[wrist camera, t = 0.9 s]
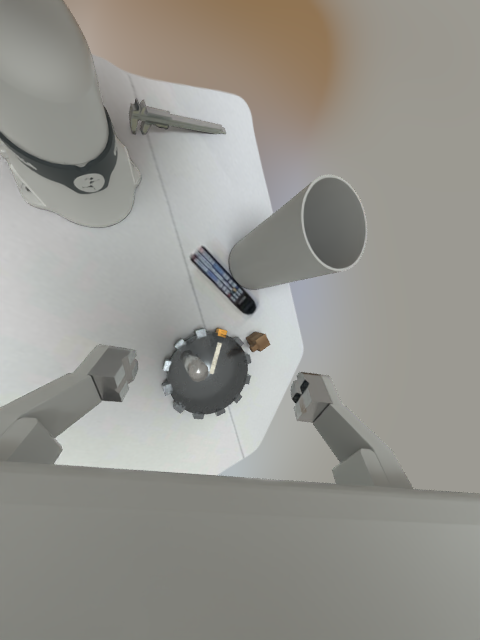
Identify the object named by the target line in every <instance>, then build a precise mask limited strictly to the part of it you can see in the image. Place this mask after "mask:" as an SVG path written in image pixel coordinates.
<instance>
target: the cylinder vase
mask: <svg viewBox="0 0 480 640" xmlns="http://www.w3.org/2000/svg"><path fill="white" fill-rule="evenodd" d="M366 239H367V221H366V215H365V211H364V208H363V205H362V202H361V200H360V198H359V197H358V194H357V193H356V191H355V190H354V189H353V187H352V186H351V185H350V184H349V183H348V182H347V181H345V180H344V179H342V178H340V177H338V176H335V175H323V176H320V177H319V178H317V179H316V180H314V181H313V182H312V183H311V184H309V185H308V186H307V187H306V188H304V189H303V190H302V191H301V192H299V193H298V194H297V195H296V196H294V197H293V198H292V199H291V200H290V201H288V202H287V203H286V204H285V205H283V206H282V207H281V208H280V209H279V210H278V211H276V212H275V213H274V214H272V215H271V216H270V217H269V218H267V219H266V220H265V221H264V222H263V223H261V224H260V225H259V226H258V227H256V228H255V229H254V230H253V231H251V232H250V233H249V234H248V235H247V236H245V237H244V238H243V239H242V240H240V241H239V242H238V243H237V244H236V245H235V246H234V247H233V249H232V251H231V254H230V258H229V266H230V271H231V273H232V276H233V277H234V279H235V280H236V281H237V283H239V284H240V285H241V286H243V287H244V288H247V289H251V290H257V289H261V288H266V287H271V286H275V285H280V284H285V283H289V282H294V281H298V280H303V279H308V278H313V277H317V276H322V275H327V274H331V273H336V272H341V271H345V270H348V269H350V268H351V267H353V266H354V265H355V264H356V263H357V262H358V261H359V259H360V258H361V256H362V254H363V251H364V248H365V244H366Z"/></svg>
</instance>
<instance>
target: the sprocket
mask: <svg viewBox="0 0 480 640" xmlns="http://www.w3.org/2000/svg"><path fill="white" fill-rule="evenodd" d="M194 331H195V335H194V336H192V337H190V338H189V339H187V340H186V341H183V340H182V339H179V340H178V341H177V342H176V343H175V344H174V346H175V347H176V348H177V350H176V351H175V352H174V354H173V356H172V358H171V360H170V359H165V362H164V365H163V371H168V372H167V381H168V382H165V383H162V385H163V389H164V393H165V396H166V395H169V394H171V395H172V397H173V399H174V400H175V402H174V403H173V408H174V409H175V410H177V411H178V412H179V413H180V414H181V413H182V412H183V410H184V409H185V410H186V411H189V412H191V413H193V414H192V415H193V417H194V419H203V417H204V414H211V413H215V414H216V415H217V416H219V415H221V414H223V413H225V409H224V408H226V407H227V406H228V405H230V404H231V403H232V402H233V401H235V402H236V403H237V402H238V401H239V400H240V399H241V398H242V396H241V395H240V392H241V391H242V389H243V387H244V385H245V384H249V381H250V377H251V376H250V375H249V374H247V371H248V365H247V364H249V363H251V359H250V355H249V354H245V353H244V351H243V349H242V348H241V346H242V345H243V344H244V343H243V342H242V341H241V340H240V339H239V338H238V337H235V338H234V339H232V338H230V337H228V336H226V334H227V331H226V330H222V329H219V328H217V329H216V332H206V331H205V329H204V328H201V329H198V330H194Z"/></svg>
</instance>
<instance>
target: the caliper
mask: <svg viewBox="0 0 480 640" xmlns="http://www.w3.org/2000/svg"><path fill="white" fill-rule="evenodd" d="M129 120H130V127H131V130H132V132H133V134H136V129H137V125H138V121H139V120H141V121H142V122H141V128H140V129H141V132H142V134H146V132H147V131H148V129H149V128H150V126H151V125H152V124H153V125H156V126H157V127H159V128H165V129H168V127H169V126H173V127H179V128H185V129H190V130H196V131H201V132H206V133H212V134H221V133H223V134H226V131H225V128H224V127H222V125H220V124H215V123H210V122H206V121H201V120H197V119H192V118H187V117H182V116H178V115H173V114H170V112H169V111H165V110H161V109H156V108H152V107H148V106H146V105H145V102H144V100H142V101H141V102H140V104H139V103H138V100H137V98H136V99H135V104H132V103H131V106H130V111H129Z"/></svg>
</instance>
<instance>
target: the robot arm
mask: <svg viewBox="0 0 480 640" xmlns="http://www.w3.org/2000/svg"><path fill="white" fill-rule="evenodd" d="M0 154H1V155H2V157H3V158H5V159H7V162H8V164H9V166H10V169H11V171H12V173H13V176H14V178H15V180H16V183H17V185H18V187H19V190H20V192H21V194H22V196H23V198H24V199H25V201H26V202H27V203H28V204H30V205H32V206H34V207H37V208H41V209H45V210H49V211H52V212H55V213H57V214H59V215H60V216H62V217H64V218H65V219H67V220H69V221H72V222H74V223H77V224H80V225H83V226H88V227H107V226H111V225H114V224H116V223H118V222H120V221H122V220H123V219H124V218H125V217H126V216H127V215H128V214H129V212H130V211H131V209H132V206H133V202H134V193H135V189H136V188H137V186H138V185H139V183H140V181H141V174H140V171H139V170H138V168H137V167H136V166H135V164H134V163H133V162H132V160H131V159H130V158H129V155H128V151H127V148H126V147H125V145H122V143H121V142H120V140H119V139H118V138H117V136H116V135H115V132H114V128H113V125H112V123H111V120H110V117H109V115H108V112H107V110H106V108H105V107H104V105H103V101H102V97H101V93H100V88H99V84H98V80H97V76H96V71H95V67H94V63H93V59H92V55H91V52H90V49H89V46H88V44H87V41H86V39H85V37H84V35H83V33H82V31H81V29H80V27H79V25H78V24H77V22H76V20H75V18H74V17H73V15H72V13H71V12H70V10H69V9H68V7H67V6H66V4H65V2H64V1H63V0H0ZM28 189H29V190H30V191H31V192H29V191H28ZM135 356H136V351H135V350H133V349H127V348H121V347H115V346H108V345H101V344H99V345H98V346H96V347H95V348H94V349H93V350H92V351H91V353H90V354H89V355H88V356H87V357H86V358H85V360H84V361H83V362H82V363H81V364H80V365H79V367H78V368H77V369H76V370H75V371H74V372H73V373H68V374H66V375H64V376H62V377H60V378H58V379H56V380H54V381H52V382H50V383H48V384H46V385H44V386H42V387H40V388H38V389H36V390H34V391H32V392H30V393H28V394H26V395H24V396H22V397H20V398H18V399H16V400H14V401H12V402H10V403H8V404H6V405H4V406H2V407H0V640H480V494H479V493H463V492H449V491H434V490H420V489H413V487H412V485H411V483H410V482H409V480H408V478H407V476H406V474H405V472H404V471H403V469H402V467H401V465H400V463H399V462H398V460H397V458H396V456H395V455H394V453H393V451H392V450H391V449H390V448H389V447H388V446H387V445H386V444H385V443H384V442H383V441H382V440H381V439H380V438H379V437H378V436H377V435H376V434H375V433H373V431H372V430H371V429H370V428H369V427H368V426H366V425H365V424H364V423H363V422H362V421H361V420H360V419H359V418H358V417H357V416H356V415H355V414H354V413H353V412H352V411H351V410H350V409H349V408H348V407H347V406H344V405H343V404H342V401H341V399H340V397H339V395H338V393H337V390H336V388H335V386H334V384H333V381H332V379H331V378H330V376H327V375H320V374H312V373H305V372H300V373H298V375H297V380H295V381H294V382H293V384H292V386H291V397H292V400H293V401H294V402H295V403H296V404H295V406H294V411H295V415H296V419H297V421H304V422H311V423H313V425H314V426H315V428H316V429H317V431H318V432H319V433H320V435H321V436H322V438H323V439H324V440H325V442H326V443H327V444H328V446H329V447H330V449H331V450H332V452H333V453H334V454H335V456H336V457H337V459H338V460H339V461H340V464H338V465H337V466H335V467H334V468H333V470H332V472H333V475H334V479H335V482H336V484H333V483H332V484H331V483H318V482H317V483H316V482H304V481H289V480H274V479H260V478H244V477H231V476H216V475H201V474H187V473H172V472H158V471H143V470H128V469H114V468H99V467H85V466H70V465H55V464H54V463H55V461H56V459H57V458H58V456H59V455H60V453H61V452H62V446H61V445H60V444H59V443H58V442H57V441H56V440H55V438H56V437H57V436H58V435H60V434H61V433H62V432H63V431H65V430H66V429H67V428H68V427H70V426H71V425H72V424H74V423H75V422H76V421H77V420H79V419H80V418H81V417H83V416H84V415H85V414H86V413H88V412H89V411H90V410H92V409H93V408H94V407H95V406H97V405H98V404H99V403H100V402H102V401H101V400H103V401H115V402H122V401H123V399H124V397H125V395H126V393H127V392H128V390H129V387H128V384H129V383H130V382H132V381H133V380H134V378H135V376H136V374H137V370H138V361H137V360H136V359H135Z"/></svg>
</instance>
